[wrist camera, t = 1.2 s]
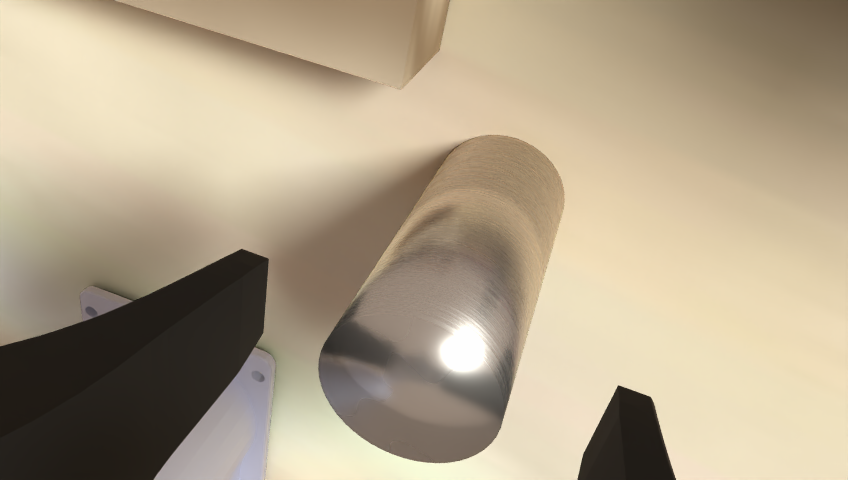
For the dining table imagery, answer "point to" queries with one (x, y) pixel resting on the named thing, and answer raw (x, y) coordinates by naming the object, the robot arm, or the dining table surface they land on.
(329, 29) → the socket block
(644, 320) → the dining table surface
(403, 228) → the peg
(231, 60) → the dining table surface
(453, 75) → the dining table surface
